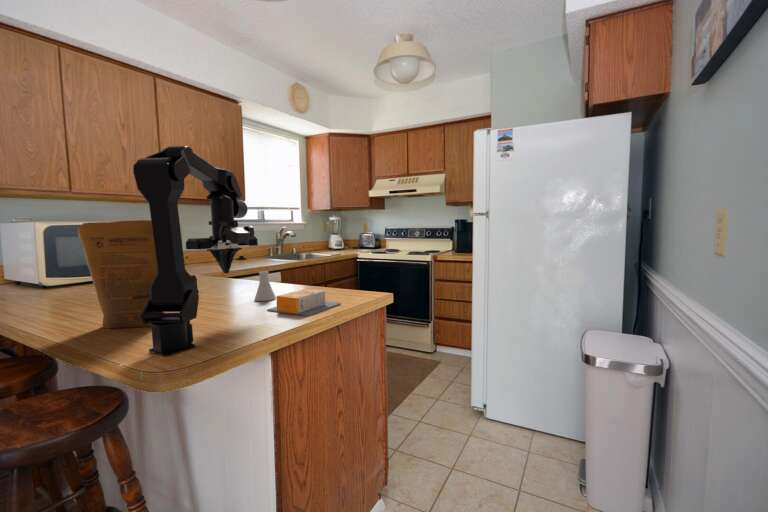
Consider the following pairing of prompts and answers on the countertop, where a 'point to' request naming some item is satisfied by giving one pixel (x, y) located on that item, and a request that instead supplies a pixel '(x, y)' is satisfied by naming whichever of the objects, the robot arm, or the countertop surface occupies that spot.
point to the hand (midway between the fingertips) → (226, 273)
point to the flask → (264, 288)
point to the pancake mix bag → (120, 268)
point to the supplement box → (300, 300)
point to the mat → (311, 311)
